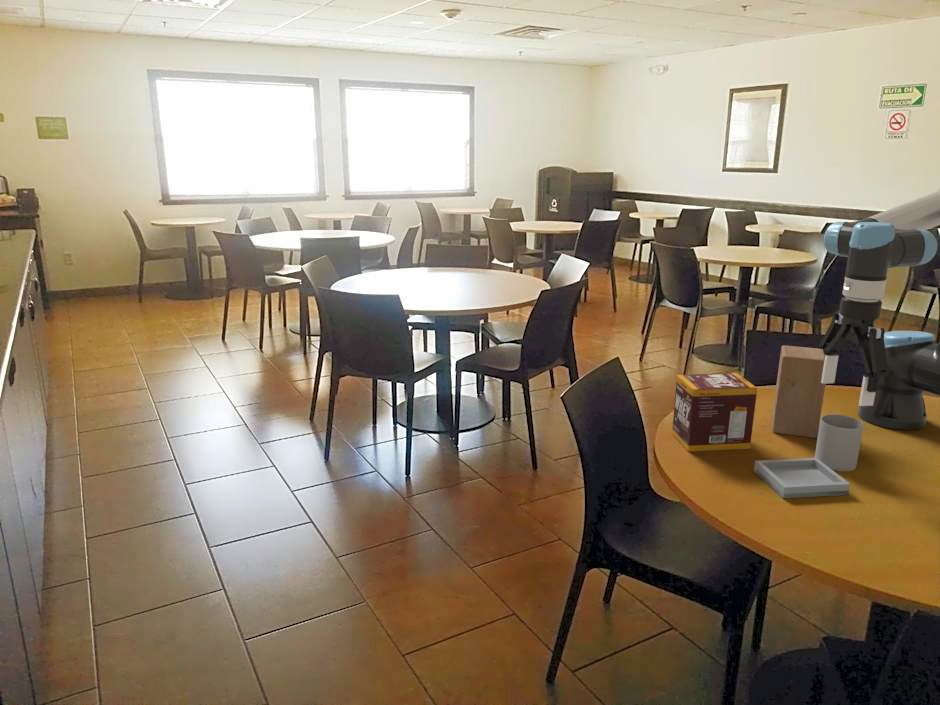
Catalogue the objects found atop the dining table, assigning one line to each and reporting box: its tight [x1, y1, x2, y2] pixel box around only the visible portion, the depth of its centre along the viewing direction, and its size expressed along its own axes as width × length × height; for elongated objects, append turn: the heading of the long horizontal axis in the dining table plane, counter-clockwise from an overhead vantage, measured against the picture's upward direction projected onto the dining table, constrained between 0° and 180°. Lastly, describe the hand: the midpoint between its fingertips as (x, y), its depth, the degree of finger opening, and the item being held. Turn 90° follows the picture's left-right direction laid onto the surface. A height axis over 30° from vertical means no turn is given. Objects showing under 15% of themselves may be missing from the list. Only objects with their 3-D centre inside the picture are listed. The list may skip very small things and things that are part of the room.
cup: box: [814, 413, 865, 472], centre depth 153 cm, size 8×8×10 cm
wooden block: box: [771, 345, 826, 439], centre depth 169 cm, size 10×10×20 cm
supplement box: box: [671, 372, 758, 453], centre depth 163 cm, size 10×15×16 cm
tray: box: [753, 457, 851, 499], centre depth 145 cm, size 14×12×2 cm
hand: (845, 393), depth 149 cm, fingers open, 13 cm apart
